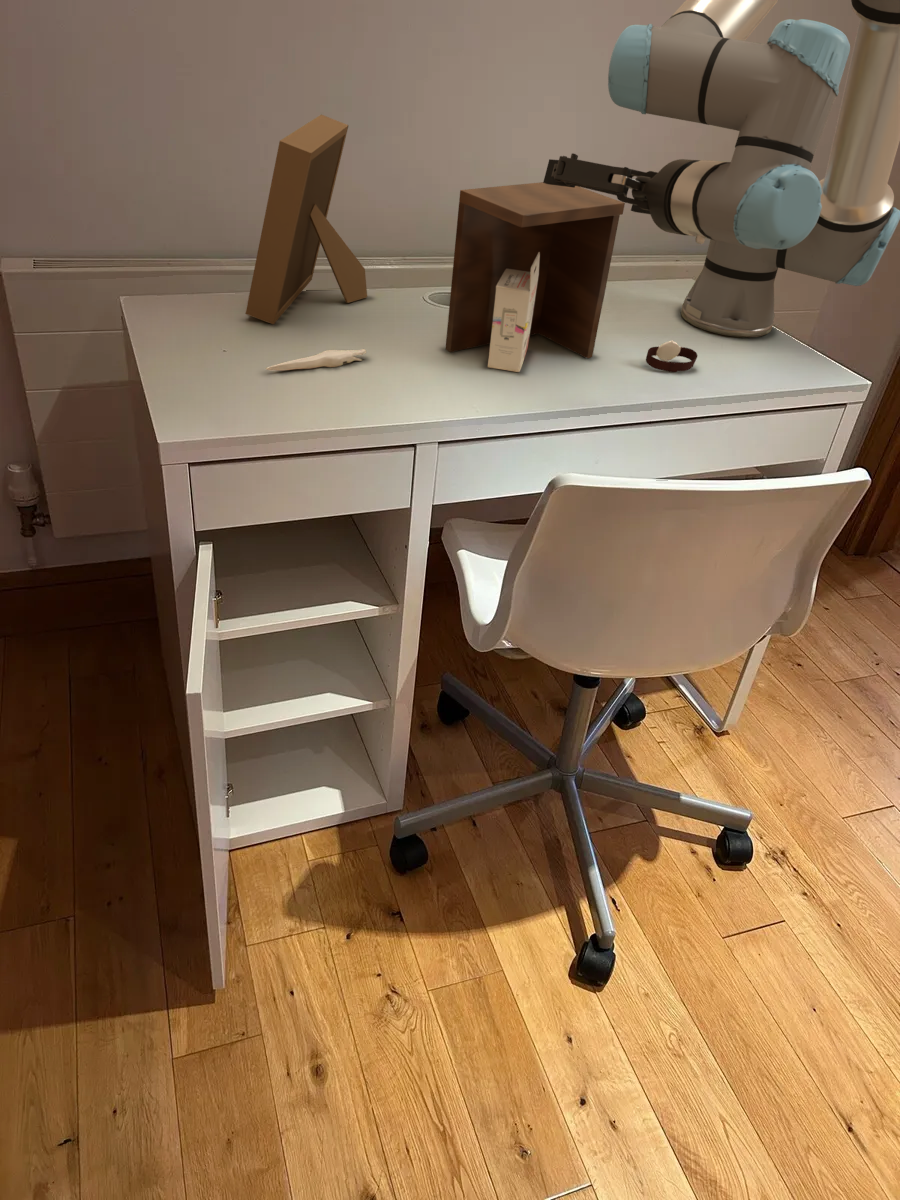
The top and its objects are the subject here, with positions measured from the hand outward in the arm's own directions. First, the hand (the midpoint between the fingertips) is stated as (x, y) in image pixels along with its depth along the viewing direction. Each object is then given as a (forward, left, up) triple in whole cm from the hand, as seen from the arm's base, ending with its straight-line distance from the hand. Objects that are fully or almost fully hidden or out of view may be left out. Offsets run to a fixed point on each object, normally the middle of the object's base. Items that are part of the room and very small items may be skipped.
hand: (593, 186), depth 117 cm
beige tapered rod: (+30, -17, -25) cm, 43 cm away
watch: (-17, +6, -25) cm, 31 cm away
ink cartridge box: (+4, -7, -25) cm, 27 cm away
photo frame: (+18, -38, -25) cm, 49 cm away
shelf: (0, -8, -25) cm, 26 cm away
